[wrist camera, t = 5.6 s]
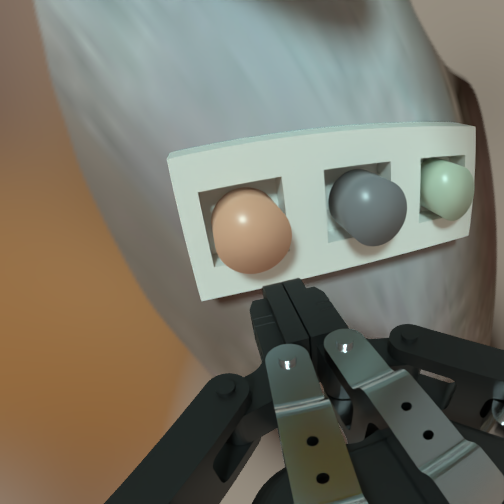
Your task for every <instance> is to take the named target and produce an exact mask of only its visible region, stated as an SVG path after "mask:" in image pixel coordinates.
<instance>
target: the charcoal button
mask: <svg viewBox="0 0 504 504" xmlns="http://www.w3.org/2000/svg"><path fill="white" fill-rule="evenodd" d="M328 205H329V211H330V214H331V216H332V217H333V219H334V220H335V221H336V222H337V223H338V224H339V225H340V226H341V227H342V228H344V229H345V230H346V231H347V232H348V233H349V234H350V235H352V236H353V237H354V238H355V239H356V240H357V241H358V242H360V243H361V244H363V245H366V246H379V245H383V244H385V243H387V242H388V241H390V240H391V239H393V238H394V237H395V236H396V235H397V233H398V232H399V231H400V229H401V228H402V226H403V224H404V221H405V218H406V214H407V201H406V197H405V194H404V192H403V191H402V189H401V188H400V187H399V186H398V185H397V184H396V183H394V182H392V181H390V180H387V179H385V178H383V177H381V176H379V175H376V174H374V173H372V172H369V171H367V170H364V169H353V170H350V171H347V172H345V173H344V174H342V175H341V176H340V177H339V178H338V179H337V180H336V181H335V183H334V184H333V186H332V188H331V190H330V194H329V199H328Z"/></svg>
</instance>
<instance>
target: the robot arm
mask: <svg viewBox="0 0 504 504" xmlns="http://www.w3.org/2000/svg"><path fill="white" fill-rule="evenodd" d="M262 290H263V297H264V299H260V300H256V301H253V302H252V305H251V308H250V314H251V320H252V325H253V330H254V335H255V340H256V343H257V347H258V350H259V353H260V357H261V360H262V364H261V365H260V367H259V368H258V369H257V370H256V371H254V372H253V373H251V374H249V375H247V376H246V377H244V378H243V377H242V376H240V375H237V374H231V373H228V374H221V375H218V376H216V377H214V378H212V379H211V380H210V381H209V382H208V383H207V384H206V385H205V386H204V387H203V389H202V390H201V391H200V393H199V394H198V395H197V396H196V397H195V399H194V400H193V401H192V402H191V403H190V405H189V406H188V407H187V408H186V409H185V411H184V412H183V413H182V414H181V416H180V417H179V418H178V419H177V420H176V422H175V423H174V424H173V425H172V426H171V428H170V429H169V430H168V431H167V432H166V434H165V435H164V436H163V437H162V438H161V439H160V441H159V442H158V443H157V444H156V445H155V446H154V448H153V449H152V450H151V451H150V452H149V453H148V455H147V456H146V457H145V458H144V459H143V460H142V462H141V463H140V464H139V465H138V466H137V467H136V468H135V470H134V471H133V472H132V473H131V474H130V475H129V476H128V478H127V479H126V480H125V481H124V482H123V483H122V484H121V486H120V487H119V488H118V489H117V490H116V491H115V492H114V493H113V494H112V495H111V496H110V498H109V499H108V500H107V501H106V502H105V503H104V504H219V503H220V502H221V500H222V499H223V498H224V496H225V495H226V493H227V492H228V490H229V489H230V487H231V486H232V484H233V483H234V481H235V480H236V478H237V477H238V475H239V474H240V472H241V471H242V469H243V468H244V466H245V464H246V463H247V461H248V460H249V458H250V457H251V455H252V453H253V452H254V450H255V448H256V447H257V445H258V444H259V442H260V440H261V437H262V436H263V435H265V434H267V433H269V432H270V431H272V430H274V429H276V428H278V433H279V438H280V443H281V448H282V454H283V459H284V464H285V468H283V469H282V470H280V471H279V472H277V473H276V474H275V475H273V476H272V477H271V478H270V479H269V480H268V481H267V482H266V483H265V484H264V485H263V486H262V488H261V489H260V490H259V492H258V493H257V495H256V497H255V499H254V500H253V502H252V504H504V350H501V349H497V348H493V347H490V346H486V345H483V344H479V343H476V342H472V341H469V340H465V339H462V338H458V337H454V336H451V335H447V334H444V333H441V332H437V331H434V330H430V329H427V328H423V327H420V326H416V325H412V324H403V325H399V326H397V327H395V328H394V329H393V330H392V331H391V333H390V336H389V338H381V339H366V338H365V337H364V336H363V335H362V334H361V333H360V332H358V331H356V330H353V329H349V328H348V326H347V325H346V323H345V322H344V320H343V319H342V318H341V316H340V315H339V313H338V312H337V310H336V309H335V307H334V306H333V304H332V303H331V302H330V301H329V299H328V297H327V296H326V294H325V293H324V292H323V291H321V290H319V289H318V288H316V287H311V288H307V289H306V287H305V286H304V284H303V283H302V281H301V279H300V278H296V279H291V280H287V281H283V282H279V283H274V284H270V285H265V286H262ZM421 369H422V370H425V371H429V372H432V373H435V374H438V375H441V376H444V377H448V378H451V379H452V380H454V381H455V382H453V383H447V382H444V381H441V380H438V379H435V378H432V377H428V376H425V375H422V374H420V371H421ZM319 382H321V383H322V385H323V387H324V396H323V393H322V390H321V387H320V384H319ZM339 425H340V427H341V429H342V430H343V432H344V434H345V436H346V439H347V442H348V444H345V441H344V439H343V436H342V433H341V430H340V427H339Z"/></svg>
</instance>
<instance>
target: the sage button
mask: <svg viewBox="0 0 504 504" xmlns="http://www.w3.org/2000/svg"><path fill="white" fill-rule="evenodd" d="M474 189H475V187H474V179H473V176H472V174H471V172H470V171H469V170H468V169H467V168H465V167H463V166H460V165H457V164H455V163H452V162H449V161H446V160H443V159H440V158H436V157H431V158H428V159H426V160H424V161H423V162H422V163H421V177H420V205H421V206H423V207H424V208H426V209H428V210H430V211H432V212H434V213H435V214H437V215H439V216H441V217H442V218H444V219H446V220H448V221H455V220H458V219H460V218H461V217H462V216H463V215H464V214H465V213H466V212H467V211H468V209H469V208H470V206H471V203H472V201H473V197H474Z"/></svg>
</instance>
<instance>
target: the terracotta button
mask: <svg viewBox="0 0 504 504" xmlns="http://www.w3.org/2000/svg"><path fill="white" fill-rule="evenodd" d="M211 225H212V232H213V237H214V243H215V248H216V251H217V254H218V256H219V258H220V259H221V261H222V262H223V263H224V264H225V265H226V266H228V267H229V268H231V269H232V270H234V271H237V272H240V273H244V274H256V273H261V272H264V271H267V270H269V269H271V268H273V267H274V266H276V265H277V264H278V263H279V262H280V261H281V260H282V259H283V258H284V257H285V255H286V254H287V252H288V250H289V248H290V245H291V240H292V230H291V226H290V222H289V220H288V218H287V217H286V215H285V214H284V213H283V212H282V211H281V209H280V208H279V207H278V206H277V205H276V203H275V202H274V201H273V200H272V199H271V198H270V197H269V196H268V195H267V194H266V193H264V192H263V191H261V190H259V189H255V188H250V187H243V188H237V189H234V190H232V191H230V192H228V193H226V194H225V195H224V196H222V197H221V198H220V199H219V201H218V202H217V203H216V205H215V207H214V209H213V212H212V216H211Z"/></svg>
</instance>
